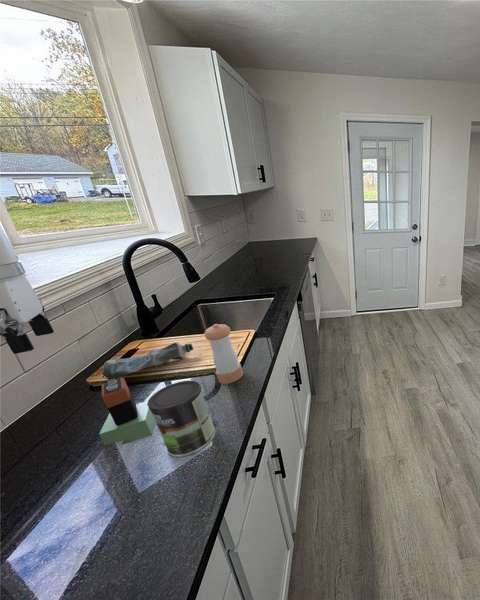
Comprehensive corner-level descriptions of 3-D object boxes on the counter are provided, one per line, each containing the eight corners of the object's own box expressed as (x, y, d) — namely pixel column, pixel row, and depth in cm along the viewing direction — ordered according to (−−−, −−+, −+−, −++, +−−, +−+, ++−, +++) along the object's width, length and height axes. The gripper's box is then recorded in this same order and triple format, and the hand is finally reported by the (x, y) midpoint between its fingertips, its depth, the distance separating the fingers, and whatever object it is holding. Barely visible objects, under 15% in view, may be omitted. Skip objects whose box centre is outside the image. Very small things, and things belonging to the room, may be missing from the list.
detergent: (104, 390, 99) (195, 362, 110) (94, 370, 96) (188, 344, 108) (113, 373, 110) (195, 349, 121) (105, 355, 107) (190, 332, 119)
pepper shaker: (228, 370, 106) (212, 319, 99) (247, 371, 105) (233, 319, 98) (213, 383, 99) (195, 329, 92) (234, 384, 98) (218, 330, 91)
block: (107, 450, 76) (98, 434, 74) (117, 426, 83) (110, 411, 82) (152, 435, 80) (145, 419, 78) (158, 413, 87) (152, 399, 85)
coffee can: (188, 462, 71) (168, 413, 66) (157, 451, 75) (136, 403, 69) (225, 429, 80) (210, 384, 75) (196, 421, 84) (180, 377, 78)
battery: (116, 427, 76) (99, 393, 72) (115, 413, 81) (99, 381, 77) (138, 417, 79) (123, 385, 75) (136, 405, 83) (122, 373, 80)
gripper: (-3, 267, 73) (32, 332, 79) (-59, 287, 59) (-11, 364, 65) (41, 262, 76) (71, 325, 83) (-2, 279, 62) (38, 354, 68)
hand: (35, 342), depth 74 cm, fingers open, 9 cm apart
